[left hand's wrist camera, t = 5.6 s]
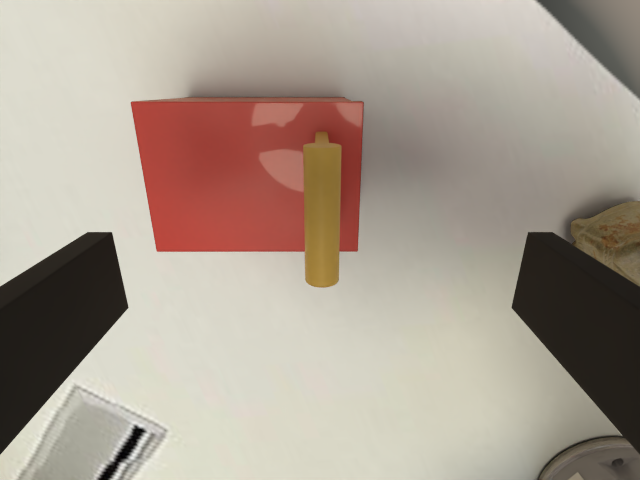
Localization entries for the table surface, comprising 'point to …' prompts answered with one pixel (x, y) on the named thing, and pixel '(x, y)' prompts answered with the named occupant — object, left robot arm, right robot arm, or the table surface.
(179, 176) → the lid
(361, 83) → the table surface
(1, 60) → the table surface
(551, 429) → the table surface
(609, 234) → the sculpture
